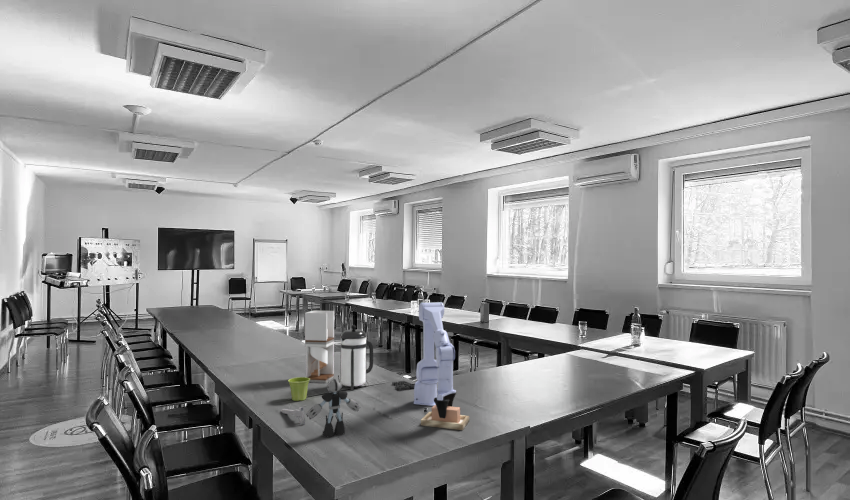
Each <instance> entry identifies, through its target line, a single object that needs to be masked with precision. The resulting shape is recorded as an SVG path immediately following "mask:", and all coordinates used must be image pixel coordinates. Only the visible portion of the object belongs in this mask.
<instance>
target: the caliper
mask: <svg viewBox="0 0 850 500" xmlns="http://www.w3.org/2000/svg"><path fill="white" fill-rule="evenodd" d="M280 412H281V413H282V414H286V415H292V416H294V418H297V419H298V422H299V423H298V424H299V425H302V426H303V425H305V424H306V422H305V421H306V420H305V419H306V415H305V410H304V407H302V406H301V407H298V409H287V408H282V409H281V410H280Z"/></svg>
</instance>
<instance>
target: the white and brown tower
mask: <svg viewBox="0 0 850 500" xmlns="http://www.w3.org/2000/svg"><path fill="white" fill-rule="evenodd" d="M304 347H305V377H307V378H310V380H309V383H321V384H322V383H323V384H328V378H329V382H330V381H332V380H333V379H335V378H334V377H335V373H334V372H335V367H334V366H335V362H334V361H335V355H334V354H335V311H334V310H311V311H307V312H305V313H304Z"/></svg>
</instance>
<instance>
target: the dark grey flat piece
mask: <svg viewBox="0 0 850 500" xmlns="http://www.w3.org/2000/svg"><path fill="white" fill-rule="evenodd" d="M391 385H392V386H393V387H395V388H394V389H395V390H398V391H399V392H403V391H409V390H411V389H414V386H415V383H411V382H408V381H406V380H398V381H392V382H391Z"/></svg>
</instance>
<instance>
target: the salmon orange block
mask: <svg viewBox="0 0 850 500" xmlns="http://www.w3.org/2000/svg"><path fill="white" fill-rule="evenodd" d="M431 412H432V420H435V421H444V422H453V423H459V422H460V415H461V407H459V406H452V407H451V406H447V411H446V417H445V418H440V417H439V413H438V409H437V406H436V405H434V406H431Z"/></svg>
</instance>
